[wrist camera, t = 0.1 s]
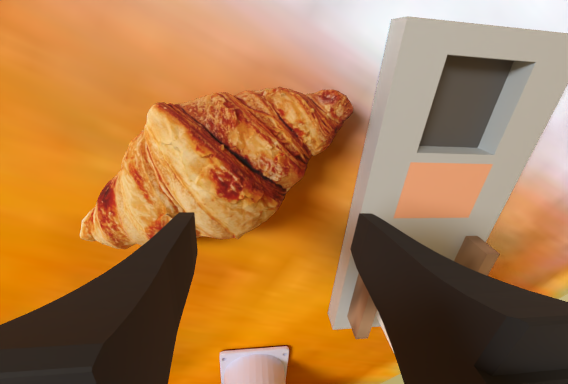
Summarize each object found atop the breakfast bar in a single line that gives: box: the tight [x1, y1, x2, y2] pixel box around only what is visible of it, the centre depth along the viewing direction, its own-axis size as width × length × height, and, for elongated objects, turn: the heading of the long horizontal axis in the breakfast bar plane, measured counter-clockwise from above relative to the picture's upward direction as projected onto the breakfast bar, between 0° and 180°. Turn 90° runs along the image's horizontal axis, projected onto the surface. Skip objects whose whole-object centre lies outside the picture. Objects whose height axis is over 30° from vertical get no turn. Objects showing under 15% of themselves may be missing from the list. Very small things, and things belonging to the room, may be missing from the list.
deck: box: [328, 17, 568, 330], centre depth 24 cm, size 28×13×2 cm, turn 176°
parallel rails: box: [347, 236, 499, 339], centre depth 25 cm, size 10×11×2 cm
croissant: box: [80, 87, 353, 249], centre depth 18 cm, size 21×10×8 cm, turn 118°
